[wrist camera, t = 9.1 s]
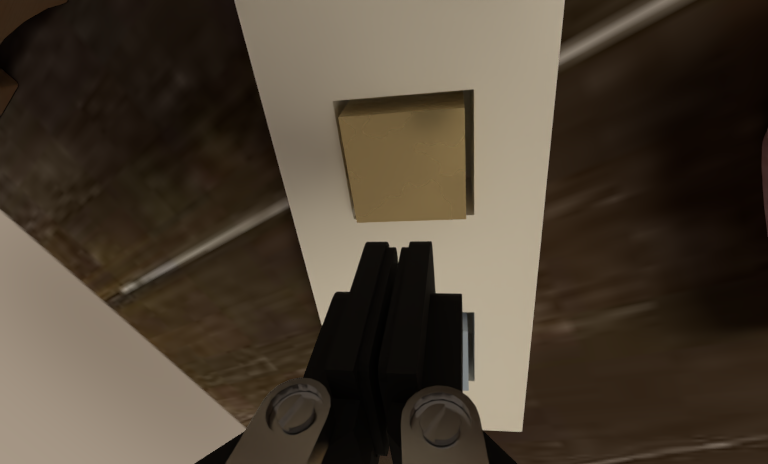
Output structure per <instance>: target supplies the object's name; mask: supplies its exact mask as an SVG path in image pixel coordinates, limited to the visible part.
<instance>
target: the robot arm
mask: <svg viewBox="0 0 768 464" xmlns="http://www.w3.org/2000/svg"><path fill="white" fill-rule="evenodd" d="M389 446H390V451H391V455H392V460H393V464H517V463H516V462H515V461H514V460H513V459H512V458H511V457H510V456H509V455H508V454H507V453H506V452H505V451H504V450H502V449H501V448H500V447H499V446H498V445H497V444H496V443H495V442H494V441H493V440H492V439H491V438H490V437H489V436H488V435H487V434H486V433H485V432H484V431H483V430H482V426H481V421H480V416H479V413H478V411H477V408H476V406H475V404H474V403H473V402H472V401H471V399H470V398H469V397H468V396H467V395H465V394H464V393H463V312H462V294H455V293H436V291H435V277H434V262H433V248H432V242H431V241H410V243H409V247H402V248H401V252H400V257H399V262H398V256H397V249H396V247H389V243H388V242H366V243H365V246H364V249H363V252H362V255H361V258H360V261H359V264H358V267H357V271H356V274H355V277H354V280H353V283H352V286H351V289H350V292H336V293H335V294H334V296H333V298H332V300H331V303H330V306H329V308H328V311H327V314H326V317H325V319H324V322H323V325H322V328H321V330H320V333H319V336H318V339H317V341H316V344H315V347H314V350H313V352H312V355H311V358H310V360H309V363H308V366H307V369H306V371H305V374H304V377H303V378H296V379H292V380H288V381H286V382H284V383H282V384H280V385H278V386H277V387H276V388H275V389H273V390H272V391H271V392H270V393H269V394H268V395H267V396H266V398H265V399H264V400H263V402H262V403H261V405H260V407H259V408H258V410H257V412H256V413H255V415H254V417H253V418H252V420H251V422H250V423H249V425H248V427H247V428H246V430H245V431H244V432H243V433H241V434H240V435H238V436H237V437H235V438H234V439H232V440H230V441H229V442H227V443H226V444H225V445H223V446H221V447H220V448H218V449H217V450H215V451H213V452H212V453H210V454H209V455H207V456H206V457H204V458H203V459H201V460H199V461H198V462H196V463H195V464H378V462H379V456H380V455H381V456H387V454H388V450H389Z"/></svg>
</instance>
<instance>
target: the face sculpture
mask: <svg viewBox="0 0 768 464" xmlns="http://www.w3.org/2000/svg"><path fill="white" fill-rule="evenodd" d="M762 179H763V197H764V210H765V217H766V226H767V235H768V128H767V131H766V134H765V136H764V139H763V143H762Z"/></svg>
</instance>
